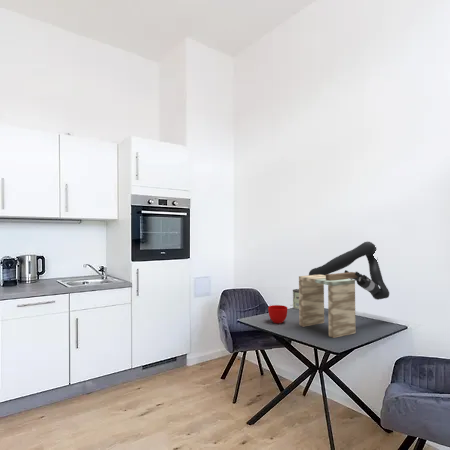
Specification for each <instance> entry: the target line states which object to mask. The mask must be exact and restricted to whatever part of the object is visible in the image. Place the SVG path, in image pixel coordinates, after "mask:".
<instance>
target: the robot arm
mask: <svg viewBox="0 0 450 450" xmlns="http://www.w3.org/2000/svg"><path fill="white" fill-rule="evenodd" d="M375 246H376V245H375V244H374V243H373V242H371V241H364V242H363V243H361V244H359V245H358V246H356V247H355V248H353V249H351V250H349V251H347V252H344V253H342V254H339V255H337V256H336V257H333V258H332V259H331V260H329V261H327V262H326V263H324V264H323V265H321V266H317V267H314V268H311V270H309V272H308V275H318V274H320V275H326V274H333V273H335V272H339V271H340V270H343V269H345V268H346V267H349V266H350V265H351V264H353V263H354V262H355V261H356V260H357V259H359V258H362V257H366V259H367V262H368V270H369V276H370V278H369V277H368V276H367V275H365V274H362V273H360V272H358V271H355V275H356V276H357V278H350V279H351V280H355V282H356V284H357V285H358V286H359V287H361V288H362V289H364V290H365V291H367V292H369V293H370V295H371V296H372V298H373V299H374V300H377V301H378V300H382V299H387V298H389V296H390V290H389V288H388V287H387V285H386V284H385V282H384V280H383V276H382V275H383V274H382V271H381V268H380V264H379V261H378V262H377V260H378V259H377V260H376V259H375V258H374V256H373V254H374V253H375V251H376V250H377V246H376V247H375ZM347 272H349V271H348V270H344V272H343V273H347Z"/></svg>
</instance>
